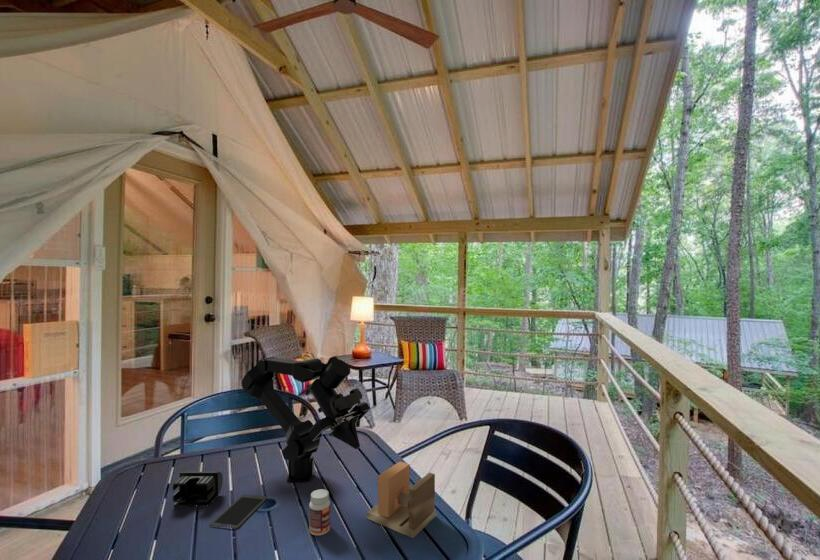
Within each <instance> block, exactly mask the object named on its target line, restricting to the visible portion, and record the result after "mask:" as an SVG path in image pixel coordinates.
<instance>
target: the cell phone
mask: <svg viewBox="0 0 820 560" xmlns="http://www.w3.org/2000/svg"><path fill="white" fill-rule="evenodd" d="M267 500H268V496H264V495H254V494H241V495H240V496H239V497H238V498H237V499H236V500H234V501H233V502H232V503H231V504H230V505H229V506H228V507H227V508H226V509H225V510H224V511H222V512H221V513H220V514H219V515H218V516H217V517H215V518H214V519H213V520H212V522H210V524H209V527H210V526H214V527H215V526H217V527H227V526H230V525H231V526H230V527H231V528H232V529H234V530H233V531H236V530H235V529H237V530H238V529H239V528H241V527H242V526H243V525H244V524H245V523H246V521H248V520H249V519H250V518H251V517H252V515H253V514H254V513H255V512H256V511H257V510H258V509H259V508H260V507H261V506H263V504H264V503H265V502H266V501H267ZM228 524H229V525H228Z"/></svg>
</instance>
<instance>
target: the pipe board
mask: <svg viewBox="0 0 820 560" xmlns="http://www.w3.org/2000/svg"><path fill="white" fill-rule="evenodd" d="M435 478H436V473H432V472H428V473H426V475H425V476H423V477H422V478H420V479H419V480H418V481H417V482H415V483H414V484H413V485H411V486H410V488H409V495H408V494H405V493H403V492H401V493H400V494H399V496H398V504H400V505H403V506H402V507H401V508H399V509H398V510H397V511H396V512H395V513H393V514H392V515H391V516H390V517H389V518H387V517H385V516H383V515H380V514H378V503H376V505H375V506H373V507H372V508H370V509H369V510H368V511H366V519H368V520H369V521H372V522H375V523H377V524H379V525H381V526H383V527H386V528H389V529H391V530H393V531H395V532H397V533H399V534H402V535H404V536H407V537H409V538H411V539H415V537H416V536H417V535H418V534H419V533H420V532H421V531H422V530H424V528H426V527H427V526H428V524H429V523H431V522H432V520H434V519H435V518H436V513H437V512H436V505H435V502H436V499H435V498H436V495H435V494H436V492H435V491H436V489H435V488H436V487H435V485H436V483H435V481H436V479H435Z"/></svg>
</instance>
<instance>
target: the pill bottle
mask: <svg viewBox="0 0 820 560" xmlns="http://www.w3.org/2000/svg"><path fill="white" fill-rule="evenodd" d="M329 493H330V492H329V491H328V490H327V489H323V488H322V489H321V488H320V489H316V490H313V491H312V492H311V493H310V502H309V504H308V511H309V512H308V514H309V515H308V519H309V520H308V524H309V525H308V528H309V529H308V530H309V533H310V534H311V535H313V536H323V535H326V534H328V533H329V531H330V530H331V501H330V494H329Z"/></svg>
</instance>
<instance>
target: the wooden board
mask: <svg viewBox="0 0 820 560" xmlns="http://www.w3.org/2000/svg"><path fill="white" fill-rule="evenodd" d="M410 466H411V464H410V463H407V462H404V461H398V462H396V463H395V464H394V465H392V466H391V467H389V468H388V469H386V470H385V471H383V472H381V473H380V474H378V475H377V504H378V514H380V515H383V516H385V517H387V518H389V517H390V516H391V515H392V514H393V513H395V512H396V511H397V510H398V509H399V508H401V507H402V506H403V505H400V504H398V496H399V494H400V493H401V492H403V493H405V494H408V495H409V488H410V487H411V486H410V484H411V482H410V478H411V476H410V468H411V467H410Z"/></svg>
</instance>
